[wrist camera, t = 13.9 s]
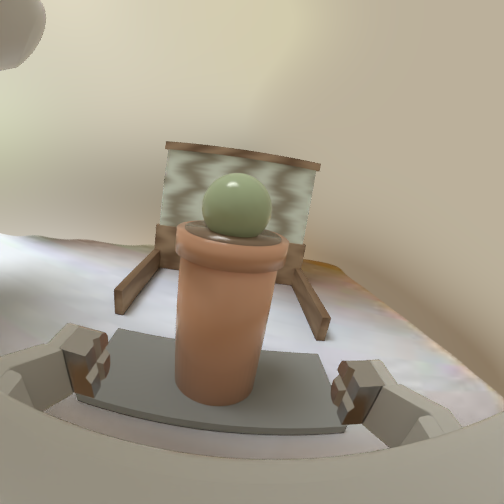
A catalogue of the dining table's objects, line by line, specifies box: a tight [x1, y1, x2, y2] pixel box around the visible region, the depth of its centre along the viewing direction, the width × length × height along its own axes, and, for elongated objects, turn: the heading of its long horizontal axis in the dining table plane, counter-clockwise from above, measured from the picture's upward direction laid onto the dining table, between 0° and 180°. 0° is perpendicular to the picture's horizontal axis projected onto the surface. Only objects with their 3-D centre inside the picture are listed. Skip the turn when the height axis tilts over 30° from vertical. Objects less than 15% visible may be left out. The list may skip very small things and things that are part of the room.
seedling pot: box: [175, 173, 289, 406], centre depth 20 cm, size 7×7×16 cm
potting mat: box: [76, 328, 347, 435], centre depth 22 cm, size 20×10×1 cm, turn 93°
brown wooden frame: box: [114, 141, 331, 341], centre depth 37 cm, size 24×18×20 cm
